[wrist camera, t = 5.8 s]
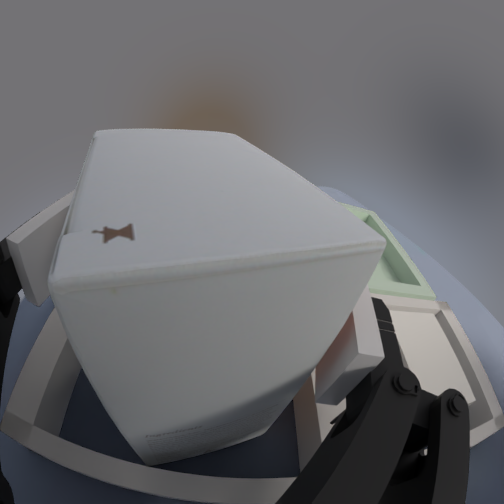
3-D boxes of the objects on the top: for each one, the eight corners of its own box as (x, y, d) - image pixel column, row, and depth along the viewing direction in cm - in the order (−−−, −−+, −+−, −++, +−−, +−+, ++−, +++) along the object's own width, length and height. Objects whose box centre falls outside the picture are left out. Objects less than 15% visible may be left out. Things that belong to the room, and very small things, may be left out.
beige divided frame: (430, 322, 19) (448, 299, 18) (481, 441, 9) (510, 421, 8) (99, 278, 16) (93, 243, 14) (26, 447, 6) (-5, 426, 5)
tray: (366, 229, 32) (374, 211, 31) (421, 318, 20) (436, 297, 18) (265, 206, 30) (271, 186, 29) (278, 304, 18) (289, 276, 17)
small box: (264, 436, 10) (402, 245, 5) (145, 469, 8) (35, 288, 2) (204, 314, 16) (238, 130, 10) (111, 327, 13) (93, 126, 8)
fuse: (406, 345, 17) (433, 312, 15) (437, 429, 11) (476, 401, 9) (356, 345, 16) (383, 308, 14) (383, 445, 10) (426, 418, 8)
